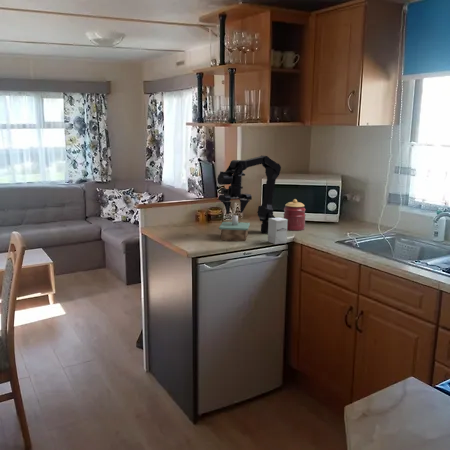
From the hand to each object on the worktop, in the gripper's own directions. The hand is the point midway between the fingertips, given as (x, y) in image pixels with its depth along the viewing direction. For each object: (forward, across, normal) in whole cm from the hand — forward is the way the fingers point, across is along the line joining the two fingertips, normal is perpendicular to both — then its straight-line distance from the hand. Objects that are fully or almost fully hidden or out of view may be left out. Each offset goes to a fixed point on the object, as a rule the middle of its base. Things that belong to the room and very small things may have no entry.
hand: (234, 213), depth 254 cm
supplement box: (+13, -13, +21) cm, 28 cm away
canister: (+12, -44, +2) cm, 46 cm away
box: (+13, 0, 0) cm, 13 cm away
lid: (+7, 0, 0) cm, 7 cm away
